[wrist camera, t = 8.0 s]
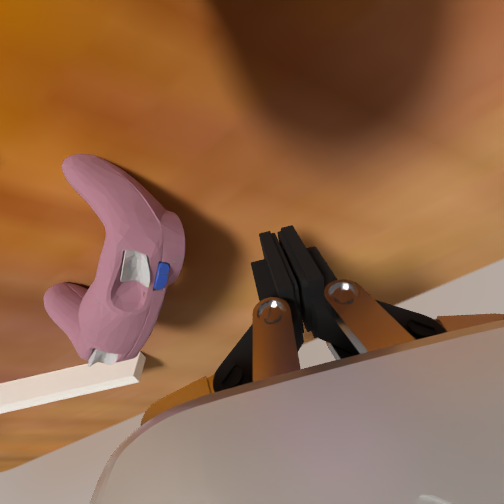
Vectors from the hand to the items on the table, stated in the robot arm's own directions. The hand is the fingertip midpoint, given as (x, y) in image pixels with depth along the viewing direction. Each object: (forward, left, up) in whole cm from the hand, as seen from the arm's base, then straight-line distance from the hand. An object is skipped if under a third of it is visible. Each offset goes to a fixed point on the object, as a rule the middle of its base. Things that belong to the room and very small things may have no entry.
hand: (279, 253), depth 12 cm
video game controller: (+9, -1, -3) cm, 9 cm away
